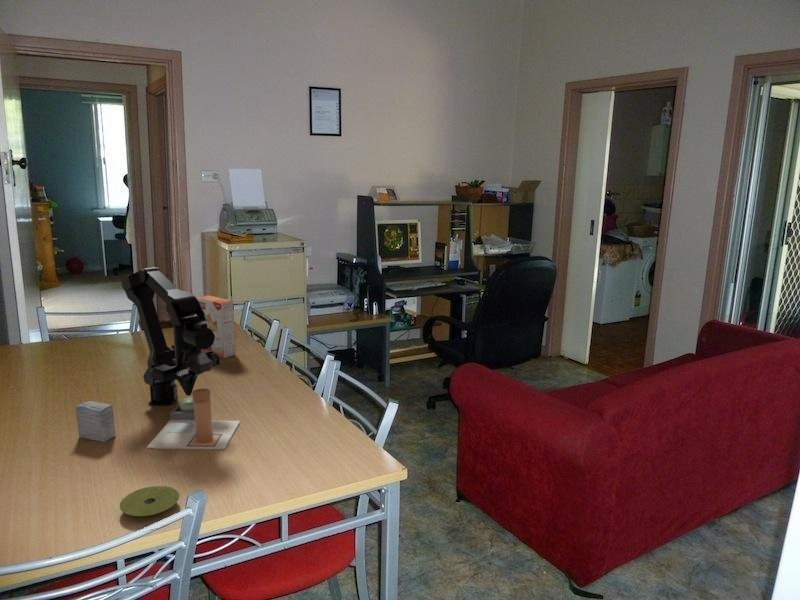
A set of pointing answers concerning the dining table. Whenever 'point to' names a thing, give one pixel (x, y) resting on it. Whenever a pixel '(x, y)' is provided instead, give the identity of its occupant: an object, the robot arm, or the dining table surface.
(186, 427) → the colouring sheet
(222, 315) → the cracker box
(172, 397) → the robot arm
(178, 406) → the button housing
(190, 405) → the button
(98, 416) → the medicine box
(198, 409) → the brown tall rounded cylinder
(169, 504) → the green disc
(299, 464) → the dining table surface
